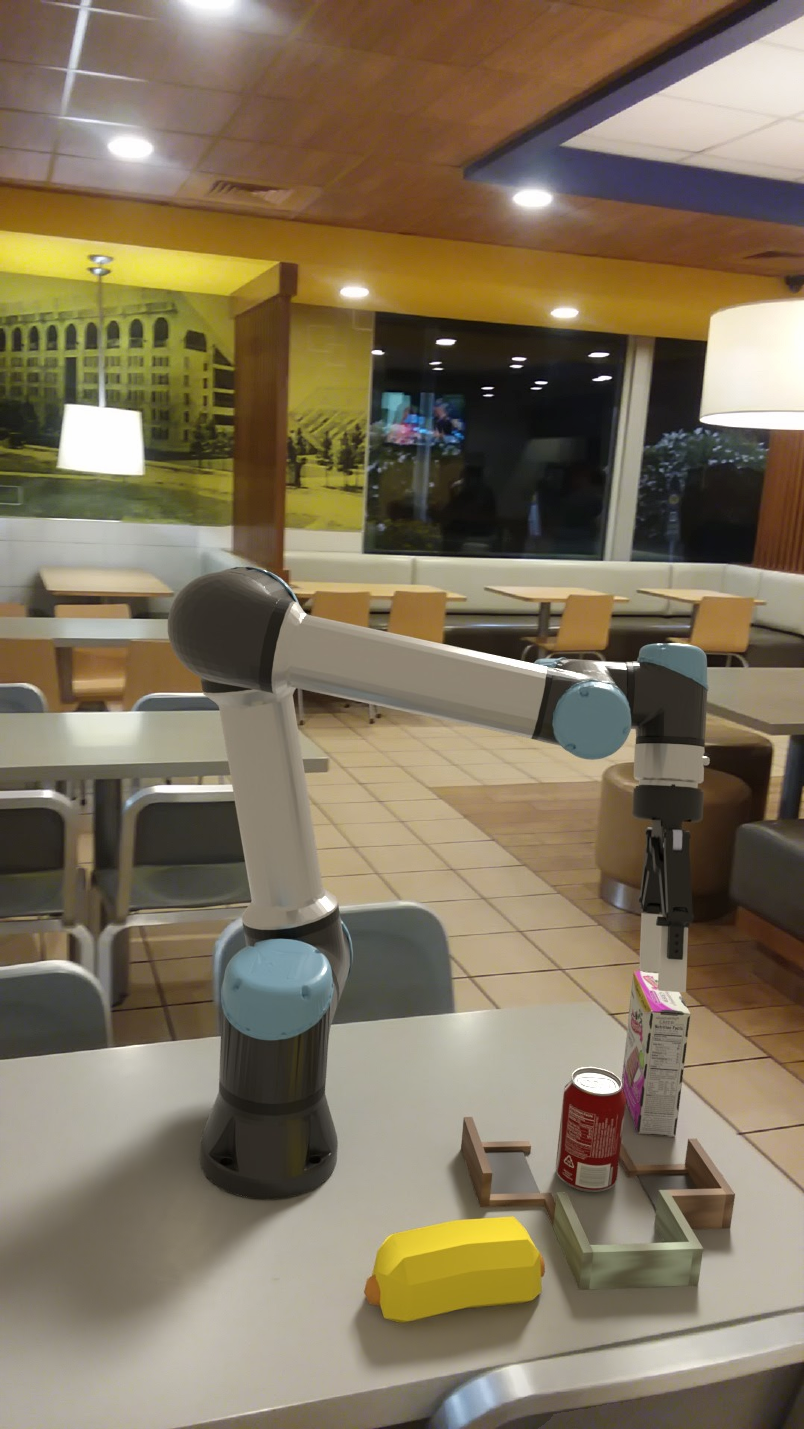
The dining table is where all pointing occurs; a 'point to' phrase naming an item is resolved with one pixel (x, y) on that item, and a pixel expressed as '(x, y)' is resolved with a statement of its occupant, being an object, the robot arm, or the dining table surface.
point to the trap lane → (680, 1206)
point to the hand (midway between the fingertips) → (661, 980)
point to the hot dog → (454, 1268)
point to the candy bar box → (654, 1055)
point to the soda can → (591, 1130)
